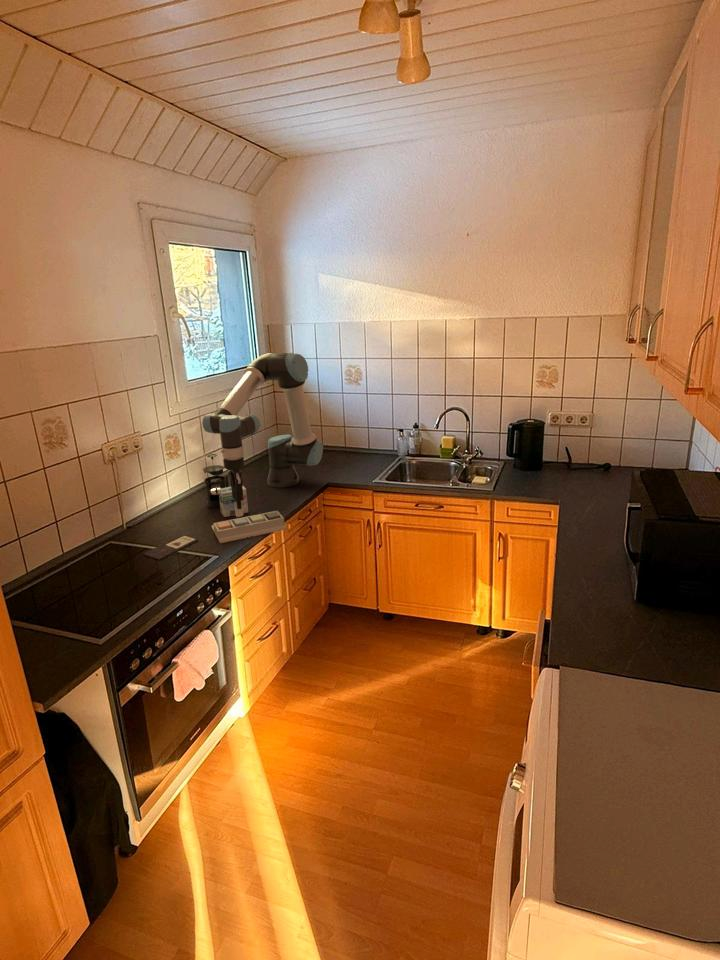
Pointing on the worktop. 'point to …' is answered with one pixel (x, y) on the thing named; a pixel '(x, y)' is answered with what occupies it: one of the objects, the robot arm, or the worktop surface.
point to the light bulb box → (230, 501)
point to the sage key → (256, 519)
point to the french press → (214, 483)
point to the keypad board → (249, 528)
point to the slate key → (240, 522)
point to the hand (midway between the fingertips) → (239, 515)
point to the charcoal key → (272, 515)
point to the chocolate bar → (170, 547)
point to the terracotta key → (224, 525)
